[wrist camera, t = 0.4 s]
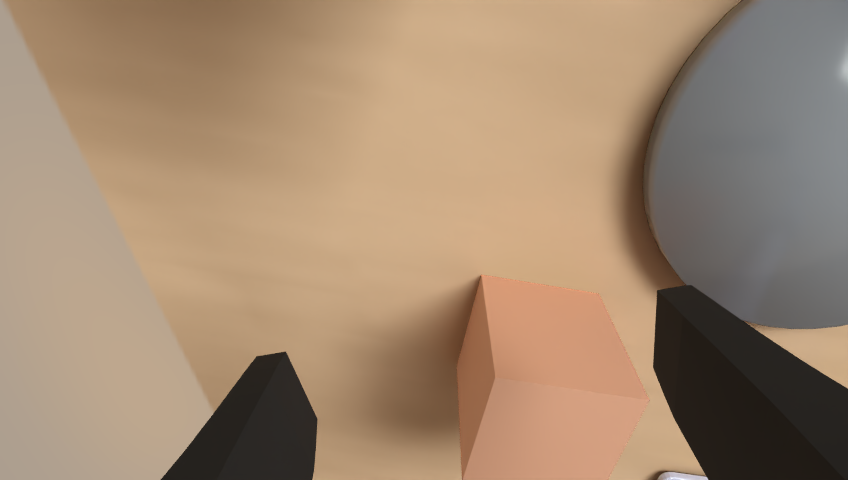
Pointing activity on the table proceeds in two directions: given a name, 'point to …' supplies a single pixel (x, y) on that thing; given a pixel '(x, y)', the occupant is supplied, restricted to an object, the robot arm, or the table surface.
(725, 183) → the dish
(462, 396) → the block
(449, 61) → the table surface
